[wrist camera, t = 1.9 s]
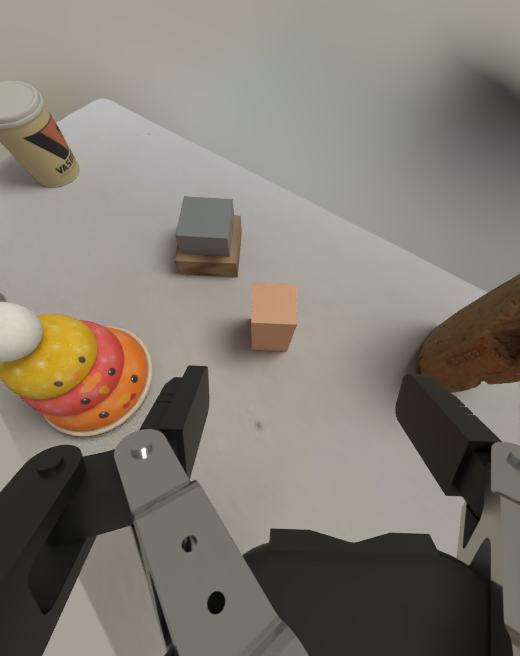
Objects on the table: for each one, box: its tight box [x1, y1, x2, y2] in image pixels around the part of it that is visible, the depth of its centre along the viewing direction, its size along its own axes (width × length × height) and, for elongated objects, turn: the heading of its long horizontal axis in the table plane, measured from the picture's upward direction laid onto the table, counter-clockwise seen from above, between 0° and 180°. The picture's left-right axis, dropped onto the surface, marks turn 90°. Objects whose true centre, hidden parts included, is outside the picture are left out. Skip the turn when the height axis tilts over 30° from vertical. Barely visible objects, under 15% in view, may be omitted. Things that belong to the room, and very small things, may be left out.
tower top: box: [176, 196, 234, 257], centre depth 41 cm, size 7×7×4 cm
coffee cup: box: [0, 81, 79, 187], centre depth 46 cm, size 9×9×12 cm
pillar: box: [251, 283, 297, 351], centre depth 36 cm, size 5×5×10 cm
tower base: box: [175, 215, 241, 277], centre depth 44 cm, size 9×9×4 cm
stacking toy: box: [0, 302, 153, 436], centre depth 29 cm, size 14×14×20 cm
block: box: [418, 274, 520, 392], centre depth 30 cm, size 11×8×20 cm
